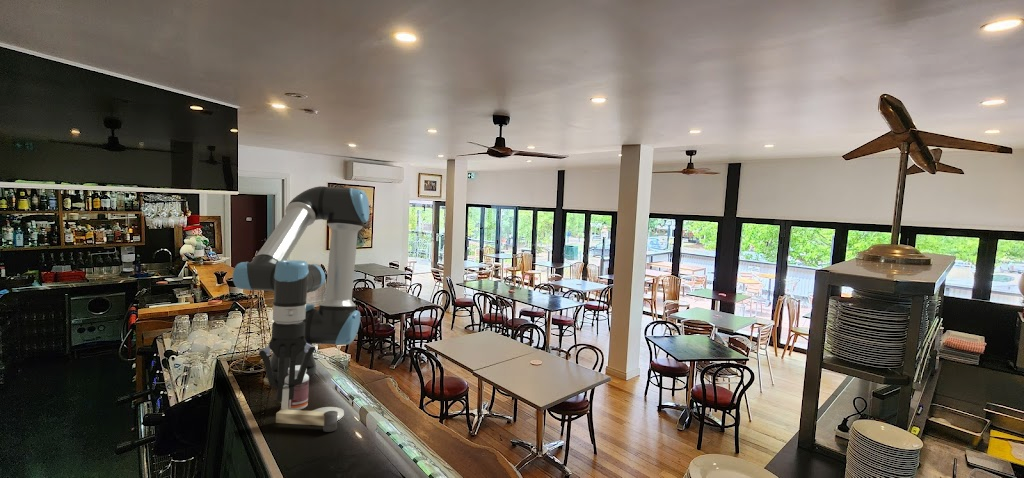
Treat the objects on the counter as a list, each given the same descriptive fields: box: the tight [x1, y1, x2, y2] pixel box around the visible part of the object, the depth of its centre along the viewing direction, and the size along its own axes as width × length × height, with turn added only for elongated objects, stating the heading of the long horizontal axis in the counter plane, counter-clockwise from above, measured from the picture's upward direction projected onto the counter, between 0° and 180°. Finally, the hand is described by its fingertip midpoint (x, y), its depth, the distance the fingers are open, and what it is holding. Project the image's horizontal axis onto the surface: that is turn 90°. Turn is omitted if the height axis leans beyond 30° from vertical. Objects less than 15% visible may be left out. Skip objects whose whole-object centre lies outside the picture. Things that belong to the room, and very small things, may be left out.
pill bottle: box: [283, 365, 310, 410], centre depth 120 cm, size 6×6×11 cm
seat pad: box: [312, 406, 345, 422], centre depth 115 cm, size 9×9×1 cm
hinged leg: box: [275, 408, 338, 433], centre depth 108 cm, size 15×3×4 cm, turn 90°
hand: (284, 412), depth 110 cm, fingers closed
